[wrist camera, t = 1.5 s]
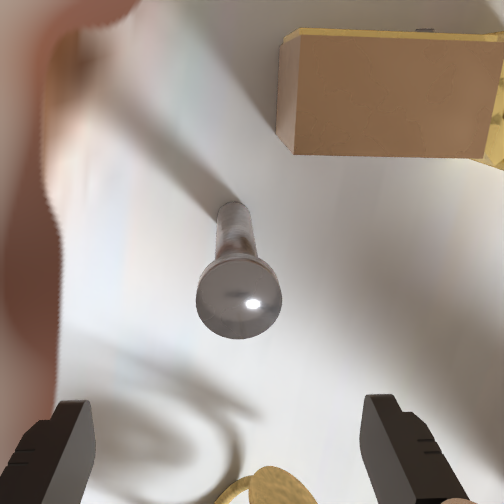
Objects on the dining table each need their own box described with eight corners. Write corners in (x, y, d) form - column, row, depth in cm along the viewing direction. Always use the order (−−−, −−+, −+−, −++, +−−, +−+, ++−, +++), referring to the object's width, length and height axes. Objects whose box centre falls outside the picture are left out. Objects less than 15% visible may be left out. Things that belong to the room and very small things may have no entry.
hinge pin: (261, 191, 30) (284, 262, 18) (259, 243, 31) (279, 339, 20) (206, 191, 29) (195, 261, 18) (206, 243, 31) (196, 339, 20)
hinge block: (633, 42, 28) (785, 29, 20) (599, 155, 30) (723, 182, 23) (280, 28, 26) (302, 10, 19) (274, 148, 29) (292, 174, 21)
